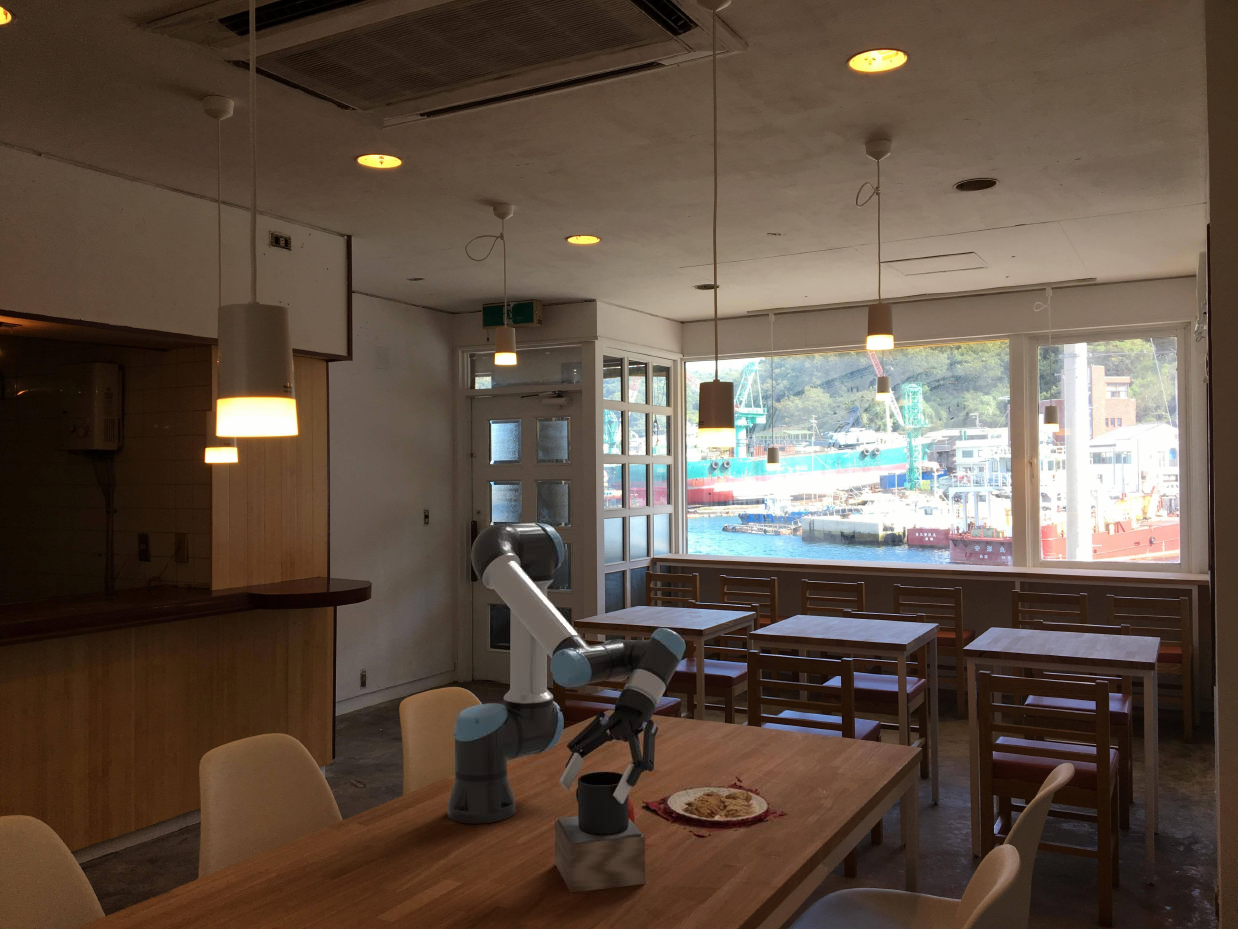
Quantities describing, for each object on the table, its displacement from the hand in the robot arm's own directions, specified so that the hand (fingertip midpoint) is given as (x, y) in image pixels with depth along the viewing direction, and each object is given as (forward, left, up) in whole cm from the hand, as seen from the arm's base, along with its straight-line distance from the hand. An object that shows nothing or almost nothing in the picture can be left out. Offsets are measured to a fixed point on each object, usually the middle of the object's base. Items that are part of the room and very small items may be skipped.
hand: (590, 793), depth 185 cm
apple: (+8, +16, -16) cm, 24 cm away
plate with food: (+37, +29, -17) cm, 50 cm away
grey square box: (+2, +1, -16) cm, 16 cm away
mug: (+2, +1, -7) cm, 7 cm away
